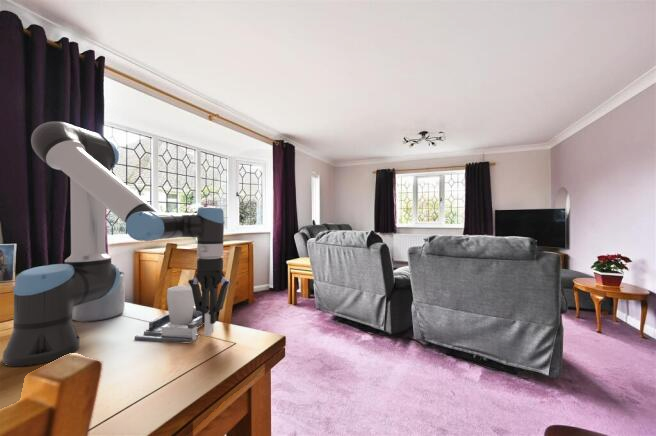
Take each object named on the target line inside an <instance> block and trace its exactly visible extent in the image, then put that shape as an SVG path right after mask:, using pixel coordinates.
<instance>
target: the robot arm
mask: <svg viewBox="0 0 656 436" xmlns="http://www.w3.org/2000/svg"><path fill="white" fill-rule="evenodd" d="M30 143H31V148H32V150H33V151H34V153H35V154H36V155H37V156H38V157H39V159H41V160H42V161H43V162H44V163H45V164H47V166H49V167H50V168H52V169H54V170H58V171H62V172H63V174H65V175H66V176H68V177H69V179H70V256H68V257H67V258H66V259H65V260H64V263H57V264H55V263H54V264H49V265H42V266H35V267H32V268H28V269H26V270H25V269H24V270H23V271H21V272H20V273H17V275H16V277H15V280H14V287H13V290H12V292H13V328H12V329H13V330H12V333H11V335H10V337H9V339H8V342H7V345H6V347H5V349H4V350H3V352H2V364H3V363H4V364H7V365H10V366H9V367H15V366H16V367H24V366H23V365H29V366H31V365H30V364H36V365H40V364H44V363H49V362H53V361H56V360H59V359H61V358H60V357H62V356H64V355H66V354H69V353H71V354H73V353H74V352H76V351H77V350H79V348H80V342H81V341H80V340H81V339H80V335H78V332H77V328H76V326H75V324H74V321H73V319H72V311H73V307H74V306H77V305H80V304H83V303H86V302H90V301H93V300H98V299H101V298H103V297H104V296H107V295H109V294H110V293H112V292H113V291H114V290H115V289H116V287H117V286H118V284H119V281H120V272H121V271H120V269H119V267H117V265H116V264H115V263H114V262H112V256H110V255H109V254H108V253H107V252H106V208H107V209H108V210H109V211H110V212H111V213H113V214H114V215H115V216H116V217H117V218H119V219H120V220H121V221H122V222H124V223H125V230H126V232H127V234H128V236H129V238H132V239H133V240H135V241H140V242H143V241H144V242H152V241H153V242H154V241H157V240H167V239H177V238H194V239H195V238H196V239H197V240H196V241H197V242H196V243H197V244H196V245H197V247H196V250H197V251H196V252H197V253H196V255H197V257H198V258H197V259H196V271H197V272H196V274H195V276H194V277H193V278H191V279H188V281H187V282H188V284H189V286H191V288H192V293H193V298H194V306H195V307H196V310H197V311H200V312H202V323H205V324H204V330H203V331H204V332H203V333H204V336H205V337H206V336H211V335H212V334H213V333H214V327H215V326H214V324H216V322H217V313H219V312H220V311H221V310H223V308H224V305H225V301H226V296H227V292H228V288H229V286H230V284H232V280H231V279H227V277H225V274H224V271H223V269H224V258H223V256H224V235H225V234H224V231H225V230H224V228H225V217H224V216H225V215H224V209H223V208H221V207H217V206H216V207H215V206H214V207H213V206H199V207H198V209H197V212H195V213H194V212H193V213H187V212H163V211H158V210H157V209H156V208H155V207H153V206H152V205H151V204H150V203H148V202H147V201H146V200H145V199H144V198H143V197H141V196H140V195H138V193H136V192H135V191H134V190H133V189H131V187H129V186H128V185H127V184H126V183H124V182H123V181H122V180H121V179H120V178H118V177H117V176H116V175H114V174H113V173H112V172H111V170H113V169H115V167H116V165H117V164H118V162H119V159H120V154H119V149H118V148H117V145H116V144H115V143H114V142H113V141H112V139H110V138H108V137H106V136H104V135H102V134H100V133H98V132H95V131H90V130H87V129H85V128H82V127H79V126H76V125H73V124H70V123H67V122H64V121H47V122H44V123H41V124H40V125H39V126H37V127H36V128H35V129H34V130H33V132H32V133H31V136H30ZM119 271H120V272H119ZM220 283H221V287H220V290H219V294H218V289H219V285H220ZM208 311H209V312H208ZM72 352H73V353H72ZM69 355H70V354H69ZM64 357H65V356H64ZM58 358H59V359H58ZM62 358H63V357H62ZM39 363H40V364H39ZM4 364H3V365H4Z"/></svg>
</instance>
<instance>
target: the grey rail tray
mask: <svg viewBox="0 0 656 436" xmlns="http://www.w3.org/2000/svg"><path fill="white" fill-rule="evenodd" d="M209 311H210V310H209ZM209 311H208V312H209ZM191 322H197V327H199V326H201V325H202V324H203V323H202V312H200V311H197V310H196V307H195V305H194V309H193V315H192V321H191ZM191 322H189V323H191ZM189 323H188V324H189ZM166 324H170V318H169V312H167V313H164V314H163V315H161V316H159V317H157V318H154V319H153V320H151V321H149V322H148V328H147V329H145V331H160V332H162V326H164V325H166ZM188 324H186V325H188ZM201 327H202V326H201Z"/></svg>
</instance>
